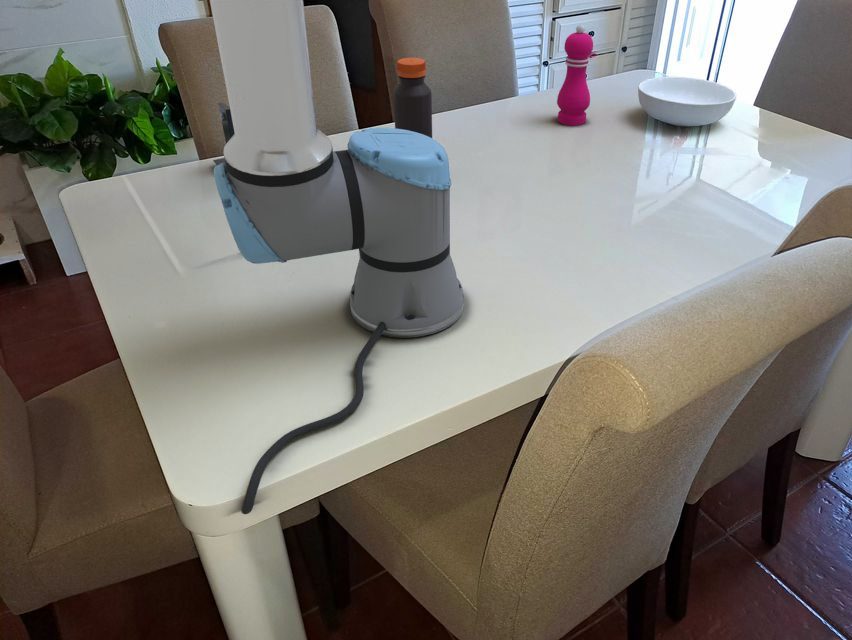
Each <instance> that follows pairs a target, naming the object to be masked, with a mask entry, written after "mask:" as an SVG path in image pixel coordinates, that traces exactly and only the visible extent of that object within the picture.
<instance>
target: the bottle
mask: <svg viewBox="0 0 852 640" xmlns="http://www.w3.org/2000/svg"><path fill="white" fill-rule="evenodd" d="M426 67H427V66H426V60H425V59H423V58H419V57H403V58H400V59H398V60H397V61H396V69H397V78H398V79H399V83H398V84H397V85H396V86H395V88H394V89H393V91H392V93H393V94H392V95H393V96H392V97H393V113H394V128H395V129H403V130H408V131H413V132H417V133H420V134H423V135H426V136H428V137H430V138H432V139H433V103H432V89H431V88H430V87H429V86H428V84H426V82H425V78H426V75H427V74H426V73H427V72H426V69H427V68H426Z"/></svg>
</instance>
